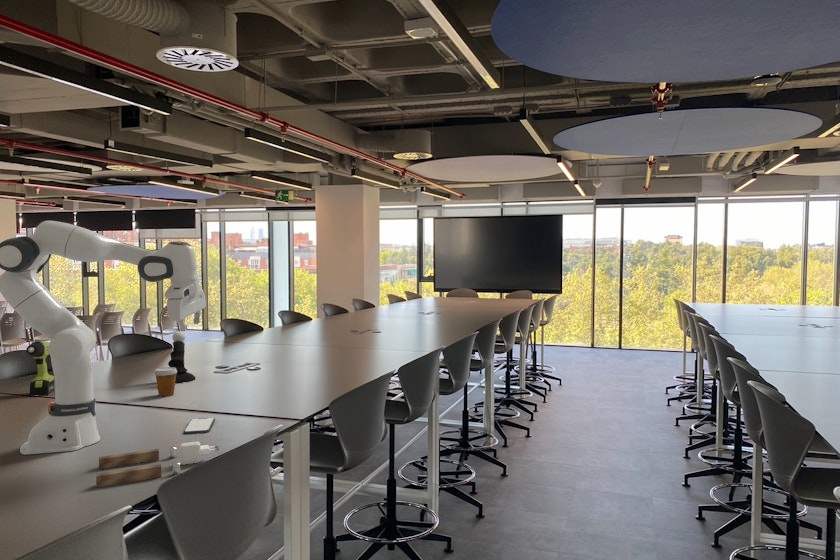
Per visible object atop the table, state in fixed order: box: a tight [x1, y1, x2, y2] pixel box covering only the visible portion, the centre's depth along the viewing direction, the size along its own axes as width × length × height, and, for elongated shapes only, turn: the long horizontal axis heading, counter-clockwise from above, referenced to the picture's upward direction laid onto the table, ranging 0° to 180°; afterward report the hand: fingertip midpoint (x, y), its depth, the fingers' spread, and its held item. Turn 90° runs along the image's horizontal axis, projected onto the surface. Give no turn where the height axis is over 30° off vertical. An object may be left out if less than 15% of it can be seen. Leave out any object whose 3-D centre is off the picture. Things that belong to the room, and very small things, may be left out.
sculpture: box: [167, 331, 196, 384], centre depth 286 cm, size 15×24×25 cm, turn 16°
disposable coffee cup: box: [154, 366, 177, 397], centre depth 258 cm, size 10×10×12 cm
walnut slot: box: [95, 448, 162, 488], centre depth 164 cm, size 16×17×3 cm
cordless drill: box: [25, 340, 55, 396], centre depth 257 cm, size 23×7×25 cm, turn 18°
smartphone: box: [183, 417, 216, 435], centre depth 208 cm, size 9×2×16 cm
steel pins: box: [168, 446, 181, 476], centre depth 169 cm, size 2×17×3 cm, turn 27°
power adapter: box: [179, 441, 220, 466], centre depth 173 cm, size 11×5×6 cm, turn 114°
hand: (190, 327), depth 198 cm, fingers open, 8 cm apart
